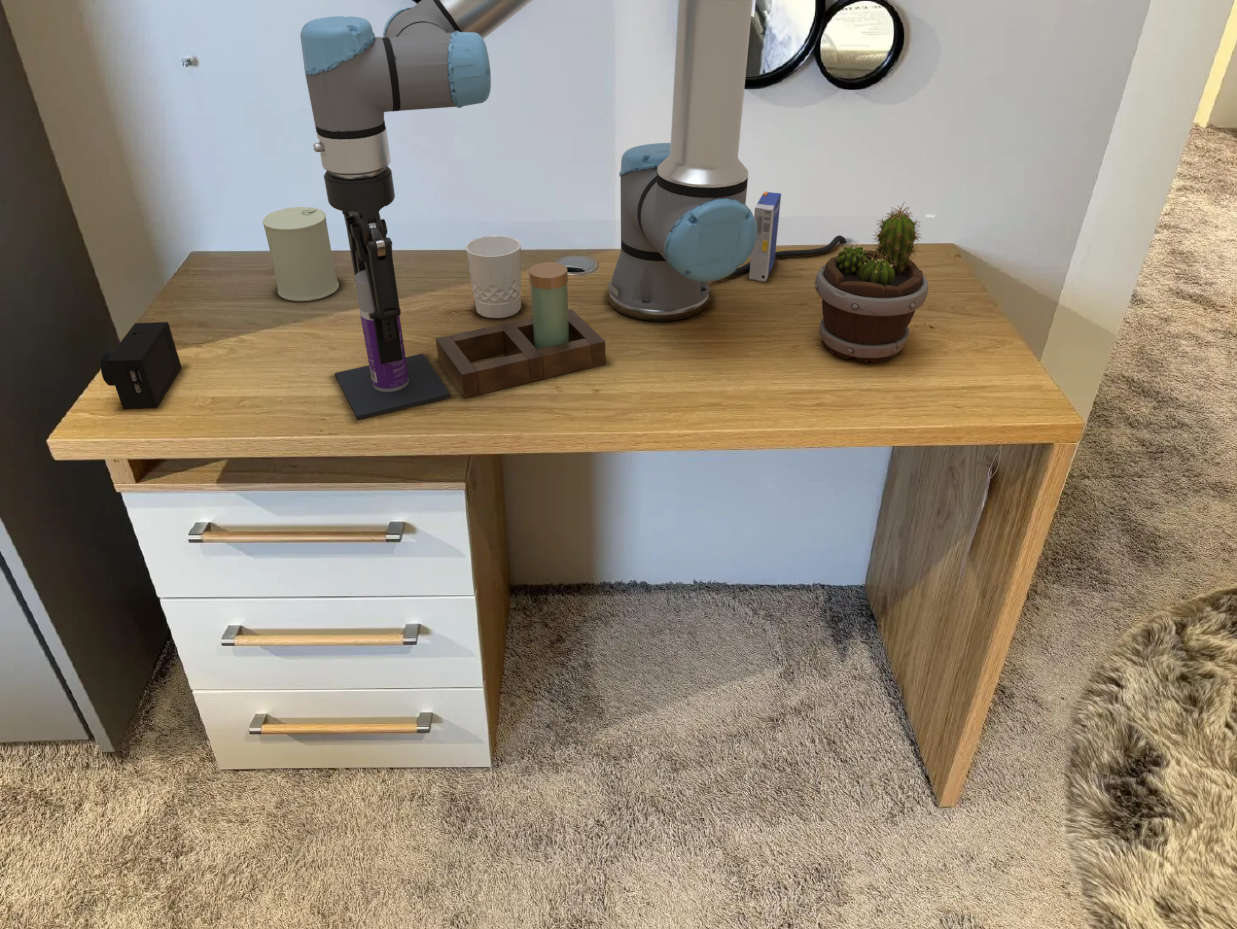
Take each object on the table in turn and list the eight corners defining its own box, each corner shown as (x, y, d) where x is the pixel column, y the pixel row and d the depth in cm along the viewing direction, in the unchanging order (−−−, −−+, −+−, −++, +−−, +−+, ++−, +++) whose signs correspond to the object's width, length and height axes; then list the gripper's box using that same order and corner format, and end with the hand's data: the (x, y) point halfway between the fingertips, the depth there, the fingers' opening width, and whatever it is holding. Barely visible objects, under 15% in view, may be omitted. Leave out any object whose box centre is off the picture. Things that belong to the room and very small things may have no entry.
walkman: (757, 260, 158) (764, 189, 151) (774, 262, 157) (781, 191, 150) (748, 279, 152) (754, 205, 145) (765, 281, 151) (772, 207, 144)
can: (351, 284, 150) (338, 210, 144) (306, 306, 144) (291, 230, 137) (310, 272, 155) (295, 199, 148) (265, 292, 148) (247, 217, 141)
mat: (423, 357, 131) (422, 353, 131) (450, 397, 122) (450, 393, 122) (335, 376, 127) (334, 372, 126) (357, 420, 118) (356, 416, 118)
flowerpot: (852, 383, 125) (875, 236, 113) (786, 334, 136) (802, 196, 125) (939, 360, 130) (970, 217, 119) (869, 314, 141) (891, 180, 130)
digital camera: (140, 369, 129) (125, 322, 125) (182, 367, 129) (167, 320, 125) (112, 409, 120) (95, 360, 116) (157, 408, 120) (141, 359, 116)
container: (401, 393, 122) (384, 284, 113) (366, 390, 123) (347, 281, 114) (414, 375, 126) (399, 268, 117) (381, 372, 126) (363, 266, 118)
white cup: (534, 303, 145) (530, 240, 139) (507, 324, 139) (502, 259, 133) (489, 294, 148) (484, 231, 142) (461, 314, 142) (455, 250, 136)
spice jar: (561, 344, 134) (558, 259, 127) (576, 359, 130) (573, 273, 123) (528, 351, 132) (523, 266, 125) (542, 367, 129) (537, 280, 121)
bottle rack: (572, 330, 137) (571, 308, 135) (605, 364, 129) (605, 341, 127) (438, 361, 130) (435, 338, 128) (464, 398, 122) (461, 374, 120)
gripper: (307, 151, 113) (340, 328, 127) (342, 197, 100) (374, 390, 114) (370, 143, 116) (395, 317, 129) (411, 187, 103) (435, 376, 116)
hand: (385, 351), depth 121 cm, fingers closed on container, 5 cm apart
